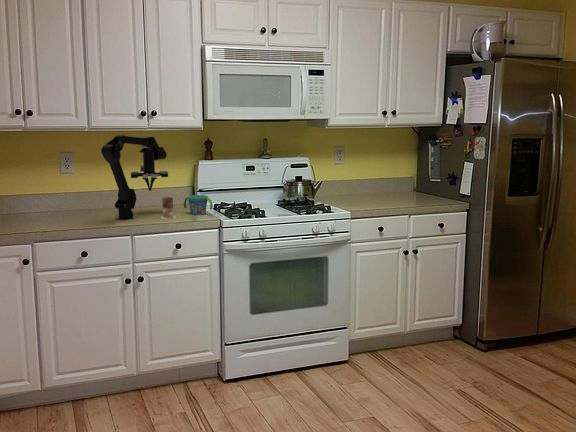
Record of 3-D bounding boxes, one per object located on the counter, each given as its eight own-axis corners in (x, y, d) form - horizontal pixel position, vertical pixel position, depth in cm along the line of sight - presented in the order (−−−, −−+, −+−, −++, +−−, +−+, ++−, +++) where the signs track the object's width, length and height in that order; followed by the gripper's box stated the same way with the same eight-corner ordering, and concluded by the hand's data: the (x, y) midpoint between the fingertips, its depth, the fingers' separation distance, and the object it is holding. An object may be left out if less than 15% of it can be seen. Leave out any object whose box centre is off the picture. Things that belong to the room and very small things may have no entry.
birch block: (163, 218, 306) (163, 208, 305) (162, 216, 310) (162, 206, 309) (173, 217, 307) (173, 208, 306) (172, 216, 312) (172, 206, 311)
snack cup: (216, 214, 322) (215, 195, 320) (206, 218, 313) (205, 198, 311) (190, 212, 328) (190, 194, 326) (180, 216, 319) (179, 196, 317)
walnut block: (163, 208, 305) (162, 198, 304) (162, 206, 310) (162, 197, 309) (173, 208, 306) (172, 198, 305) (172, 206, 311) (172, 196, 310)
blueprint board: (150, 221, 302) (150, 219, 302) (149, 215, 321) (149, 213, 321) (183, 220, 306) (183, 218, 306) (179, 213, 325) (179, 211, 325)
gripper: (166, 159, 325) (167, 188, 328) (130, 160, 321) (131, 189, 323) (167, 161, 315) (168, 191, 317) (130, 161, 310) (131, 192, 313)
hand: (150, 190), depth 318 cm, fingers closed
